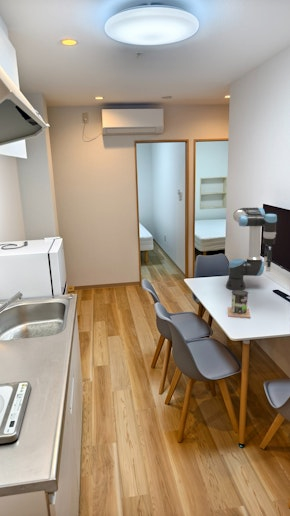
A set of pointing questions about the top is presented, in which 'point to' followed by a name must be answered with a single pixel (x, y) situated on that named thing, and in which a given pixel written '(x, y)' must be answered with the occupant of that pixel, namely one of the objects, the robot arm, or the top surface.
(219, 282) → the top surface
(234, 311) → the coffee can
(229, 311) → the terracotta tile
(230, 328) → the top surface
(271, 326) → the top surface
